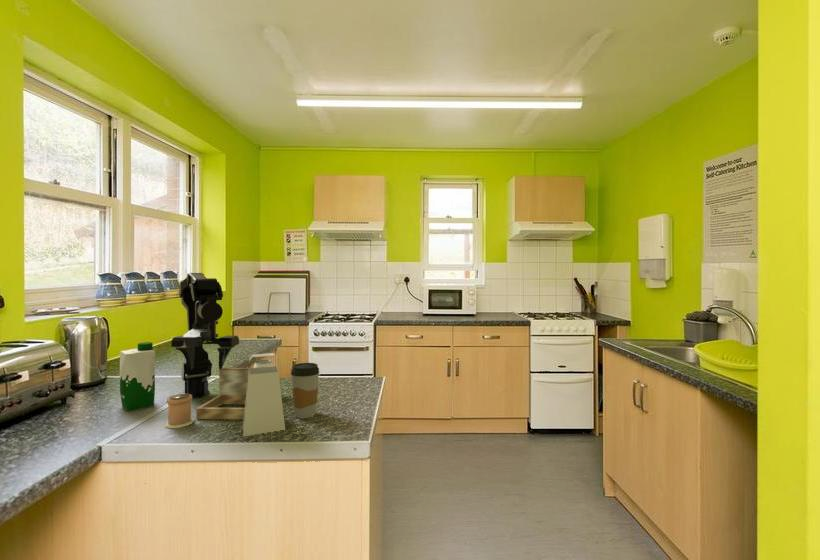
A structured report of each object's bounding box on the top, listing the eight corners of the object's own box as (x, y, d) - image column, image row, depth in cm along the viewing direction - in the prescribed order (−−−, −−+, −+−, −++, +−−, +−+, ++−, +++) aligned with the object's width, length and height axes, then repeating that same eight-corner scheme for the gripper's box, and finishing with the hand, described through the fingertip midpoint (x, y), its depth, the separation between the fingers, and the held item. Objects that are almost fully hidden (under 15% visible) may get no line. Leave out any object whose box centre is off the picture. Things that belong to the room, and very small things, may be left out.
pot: (161, 425, 109) (161, 399, 108) (176, 417, 115) (175, 393, 115) (183, 426, 108) (183, 400, 108) (196, 417, 115) (196, 393, 114)
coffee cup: (324, 412, 121) (324, 363, 121) (309, 421, 113) (309, 369, 113) (301, 409, 124) (301, 361, 124) (284, 418, 116) (284, 367, 116)
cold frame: (196, 418, 116) (196, 379, 115) (221, 402, 130) (220, 367, 129) (250, 419, 115) (250, 379, 115) (269, 403, 129) (268, 368, 129)
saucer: (159, 428, 108) (159, 426, 108) (175, 419, 115) (175, 417, 115) (184, 428, 108) (184, 426, 108) (198, 419, 115) (198, 417, 115)
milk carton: (158, 406, 127) (157, 344, 126) (124, 413, 120) (123, 347, 120) (150, 400, 133) (149, 340, 132) (117, 406, 126) (116, 344, 126)
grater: (243, 422, 113) (242, 353, 112) (281, 417, 117) (281, 350, 116) (243, 436, 103) (243, 360, 103) (285, 430, 107) (285, 357, 107)
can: (276, 393, 140) (276, 359, 140) (268, 399, 134) (268, 363, 133) (259, 392, 141) (259, 359, 141) (250, 398, 134) (250, 363, 134)
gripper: (158, 321, 114) (159, 375, 115) (222, 321, 114) (222, 375, 114) (182, 317, 125) (182, 366, 126) (239, 317, 125) (240, 366, 125)
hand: (205, 368), depth 122 cm, fingers open, 9 cm apart
